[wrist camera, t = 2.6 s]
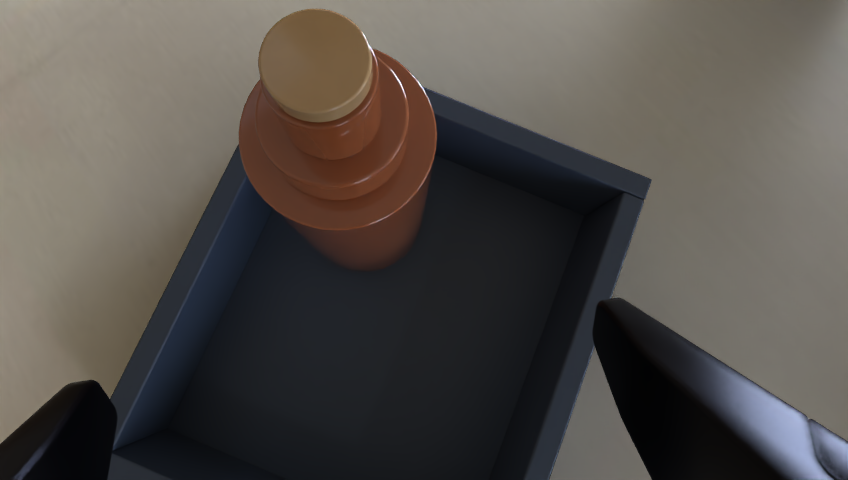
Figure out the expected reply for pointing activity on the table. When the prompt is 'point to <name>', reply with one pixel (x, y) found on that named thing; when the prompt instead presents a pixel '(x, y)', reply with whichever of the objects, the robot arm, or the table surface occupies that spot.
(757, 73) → the table surface
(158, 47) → the table surface
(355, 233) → the bottle
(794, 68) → the table surface
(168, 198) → the table surface
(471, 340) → the bin
